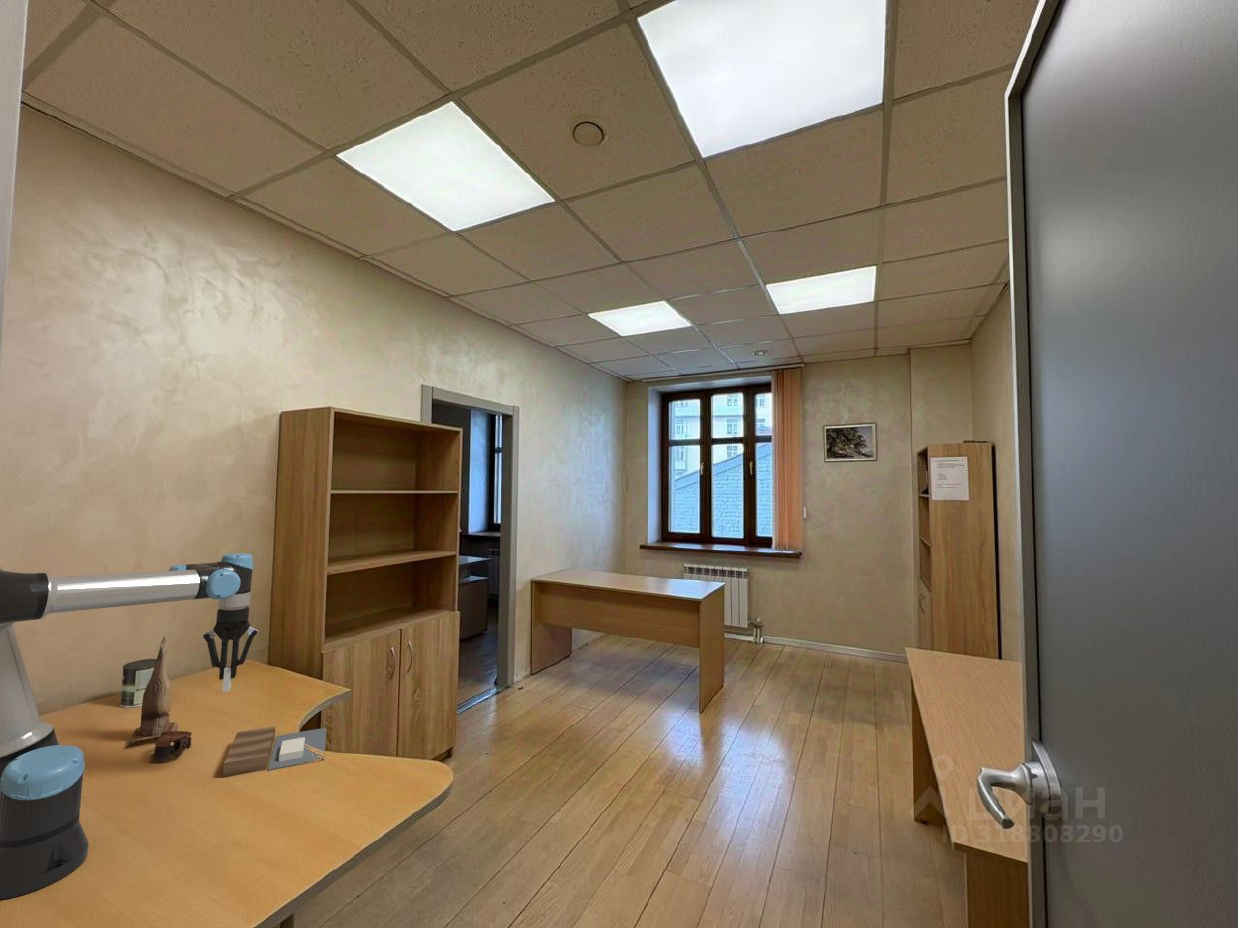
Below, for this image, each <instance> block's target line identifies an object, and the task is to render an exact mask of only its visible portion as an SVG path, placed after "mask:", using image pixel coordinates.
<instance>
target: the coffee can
mask: <svg viewBox="0 0 1238 928" xmlns="http://www.w3.org/2000/svg"><path fill="white" fill-rule="evenodd" d="M156 660H157V658H145V659H139V660H134V661H131V662H128V663H125V664H123V666H122V680H121V692H120V693H121V694H120V704H119V705H120V708H123V709H124V708H125V709H130V708H131V709H133V708H139V707H140V708H141V707H142V700H143V694H144V691H145V689H146V687H147V685H148V683H149V681H150V679H151V676H152V673H153V670H154V666H155V663H156Z"/></svg>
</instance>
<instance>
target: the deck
mask: <svg viewBox="0 0 1238 928" xmlns="http://www.w3.org/2000/svg"><path fill="white" fill-rule="evenodd" d="M275 741H276V725H274V726H268V727H262V728H256V729H248V730H242V731H237V732H236V735H235V737H234V739H233V741H232V743H231V745H230V748H229V751H228V752H227V755H226V758H225V760H224V762H223V772H222V778H228V777H234V776H238V775H239V776H240V775H244V774H250V773H255V772H259V771H261V772H262V771H265V770H267V769H268V766H269V762H270V759H271V755H272V751H273V748H274V744H275Z"/></svg>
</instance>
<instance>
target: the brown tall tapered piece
mask: <svg viewBox="0 0 1238 928" xmlns="http://www.w3.org/2000/svg"><path fill="white" fill-rule="evenodd" d="M158 650H159V651H158V655H157V657H156V659H157V660H156V663H155V666H154V670H153V673H152V676H151V679H150V681H149V683H148V685H147V687H146V689H145V691H144V694H143V700H142V706H141V712H140V714H141V715H140V726H139V727H137V728H135V729H134V730H133V733H132V735H131V737H130V739H129V740H128V742H127V744H126V746H125V750H127V749H128V748H129V747H130V746H131V745H132V744H134V743H135V742H138V741H142V740H147V739H148V740H149V739H154V738H159V737H161V733H162V732H167V731H178V727H179V725H178V724H179V723H178V722H176V721H172V722H170V714H171V702H172V697H171V696H172V684H171V681H170V679H169V676H167V675H168V674H167V653H168V637H167V636H163V637H162V639H161V643H160V646H159V649H158Z"/></svg>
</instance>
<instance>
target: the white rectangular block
mask: <svg viewBox="0 0 1238 928" xmlns="http://www.w3.org/2000/svg"><path fill="white" fill-rule="evenodd" d="M304 746H305V737H303V738H297V739H291V740H285V741H282V745H281V750H280V754H279V761H285V760H290V759H295V758H301V757H303V752H304Z"/></svg>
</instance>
